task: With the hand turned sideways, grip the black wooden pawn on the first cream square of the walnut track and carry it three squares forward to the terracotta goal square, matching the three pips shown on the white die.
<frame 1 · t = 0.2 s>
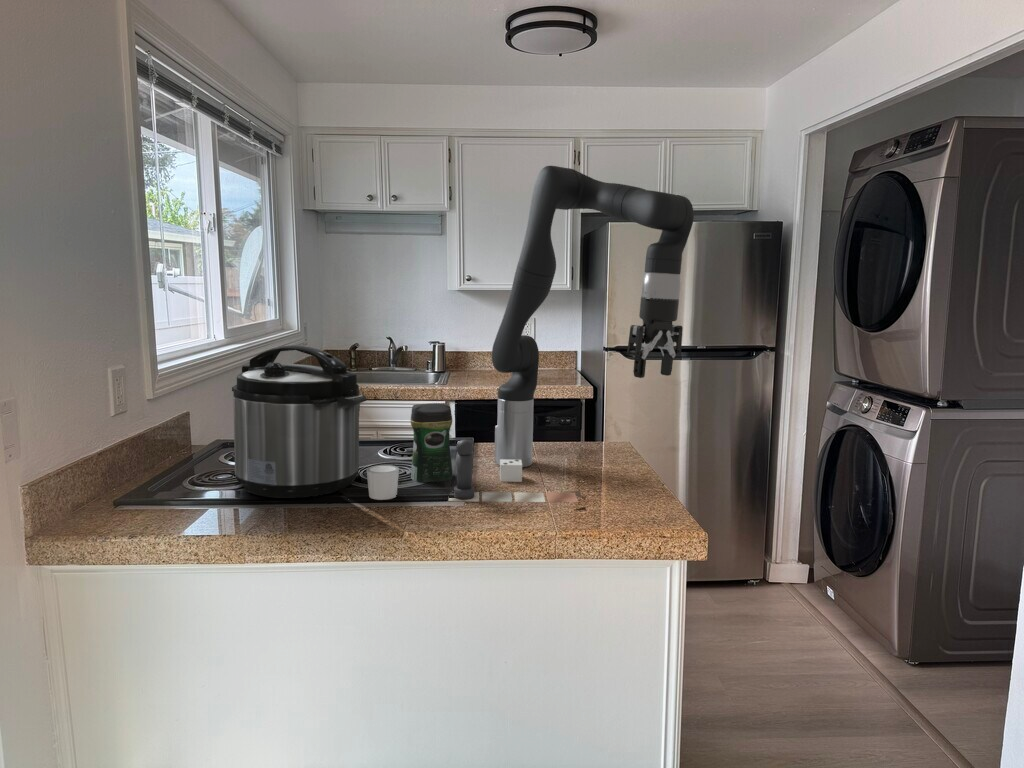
hand: (652, 376, 141), 28 cm above the worktop, tool pointing down, fingers open, 8 cm apart
track board: (513, 501, 148), on the worktop
pressure cooker: (301, 483, 159), on the worktop
coffee jar: (431, 482, 162), on the worktop
die: (510, 482, 162), on the worktop
white cup: (383, 501, 148), on the worktop
pawn: (464, 496, 148), point 1 cm above the worktop, touching track board
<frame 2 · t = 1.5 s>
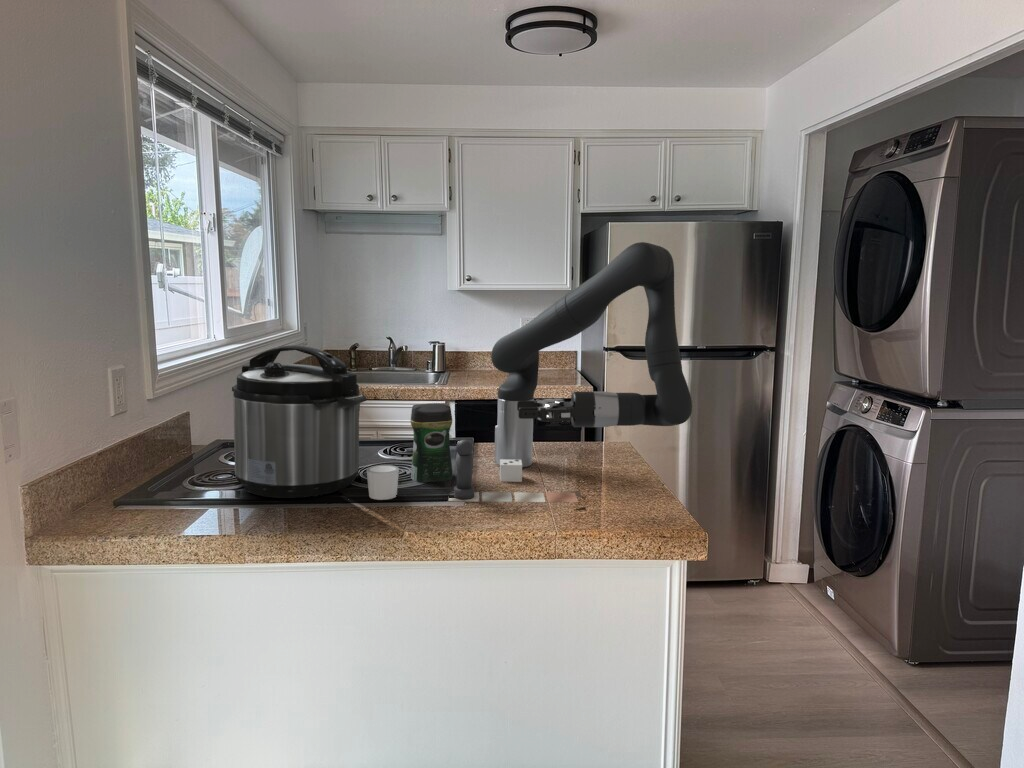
hand: (517, 409, 145), 20 cm above the worktop, tool horizontal, fingers open, 8 cm apart
nothing on the worktop moved.
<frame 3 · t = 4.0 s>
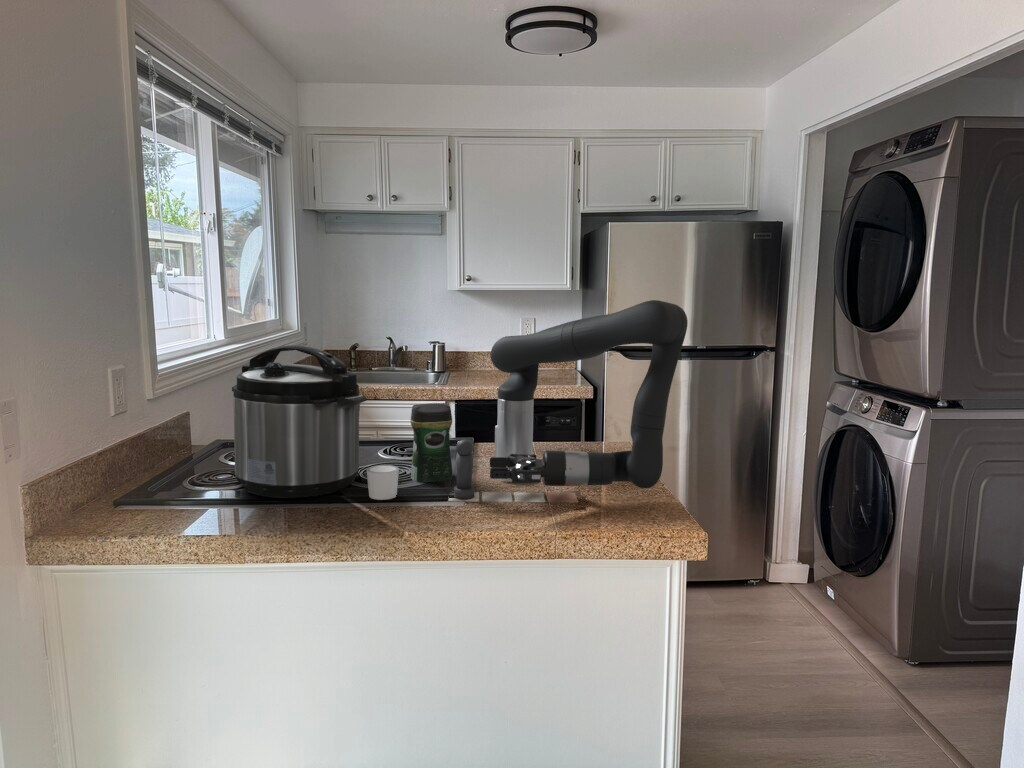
hand: (489, 467, 147), 8 cm above the worktop, tool horizontal, fingers open, 8 cm apart
nothing on the worktop moved.
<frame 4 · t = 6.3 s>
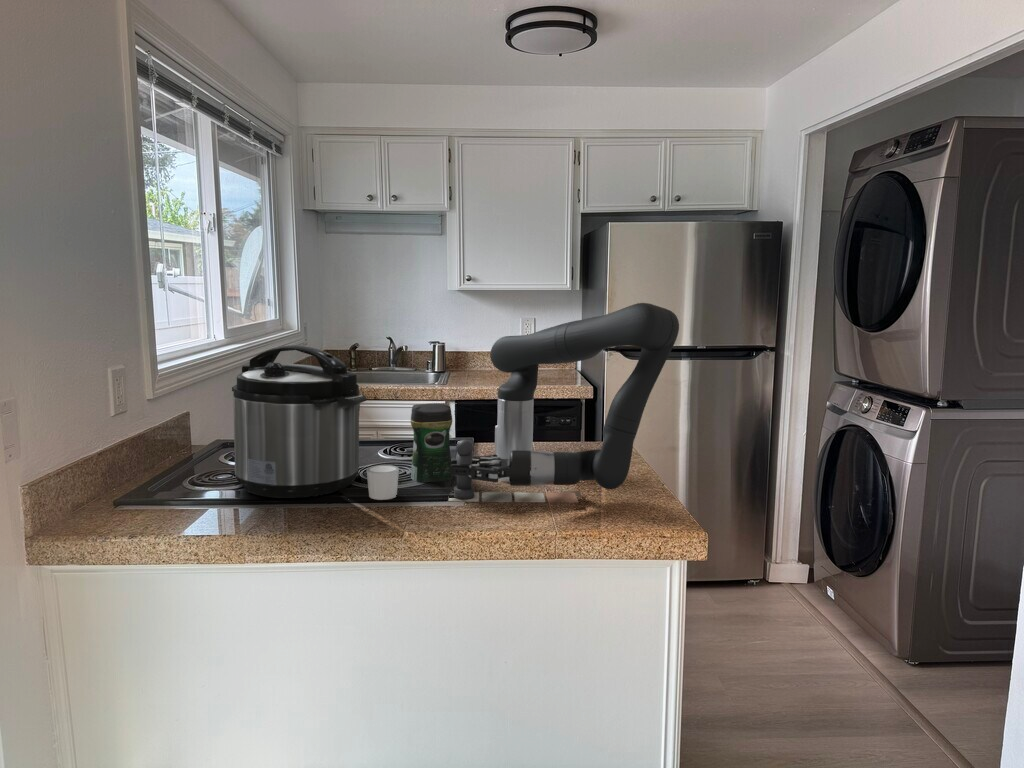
hand: (451, 467, 147), 7 cm above the worktop, tool horizontal, fingers closed on pawn, 3 cm apart
pawn: (464, 496, 148), point 1 cm above the worktop, touching gripper, track board
everything else where it was.
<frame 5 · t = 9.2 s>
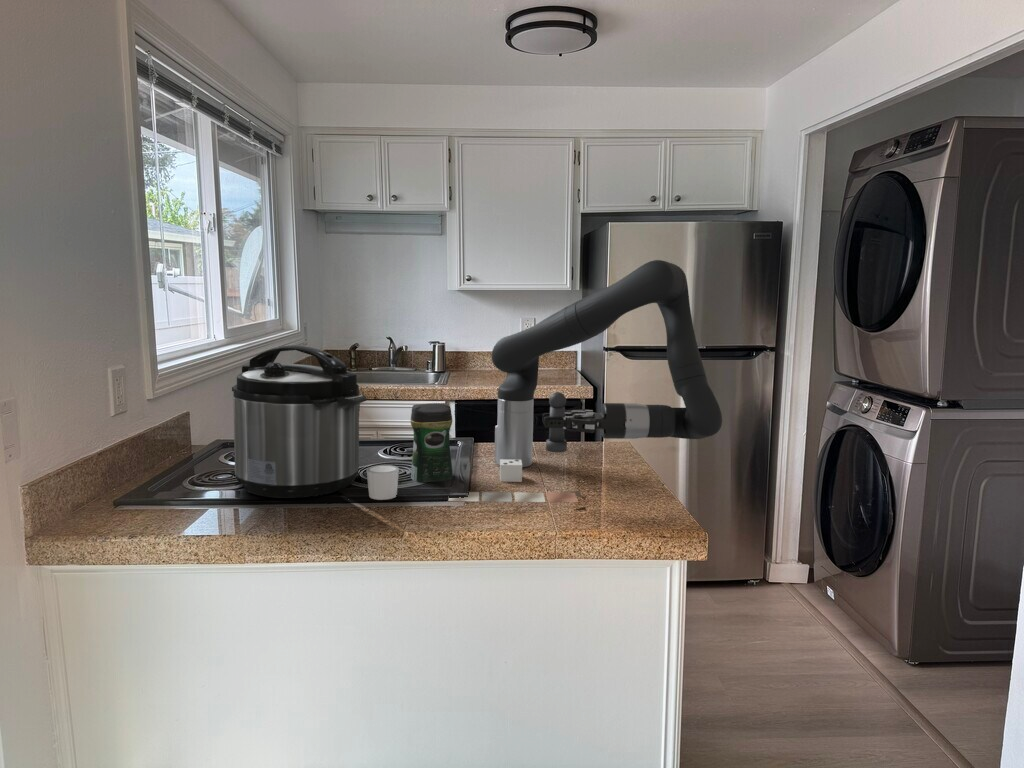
hand: (543, 420, 146), 18 cm above the worktop, tool horizontal, fingers closed on pawn, 3 cm apart
pawn: (556, 449, 147), point 12 cm above the worktop, touching gripper
everything else where it was.
when the fingers open (9 cm above the worktop, at t = 12.3 s): pawn drops 1 cm, resting on track board.
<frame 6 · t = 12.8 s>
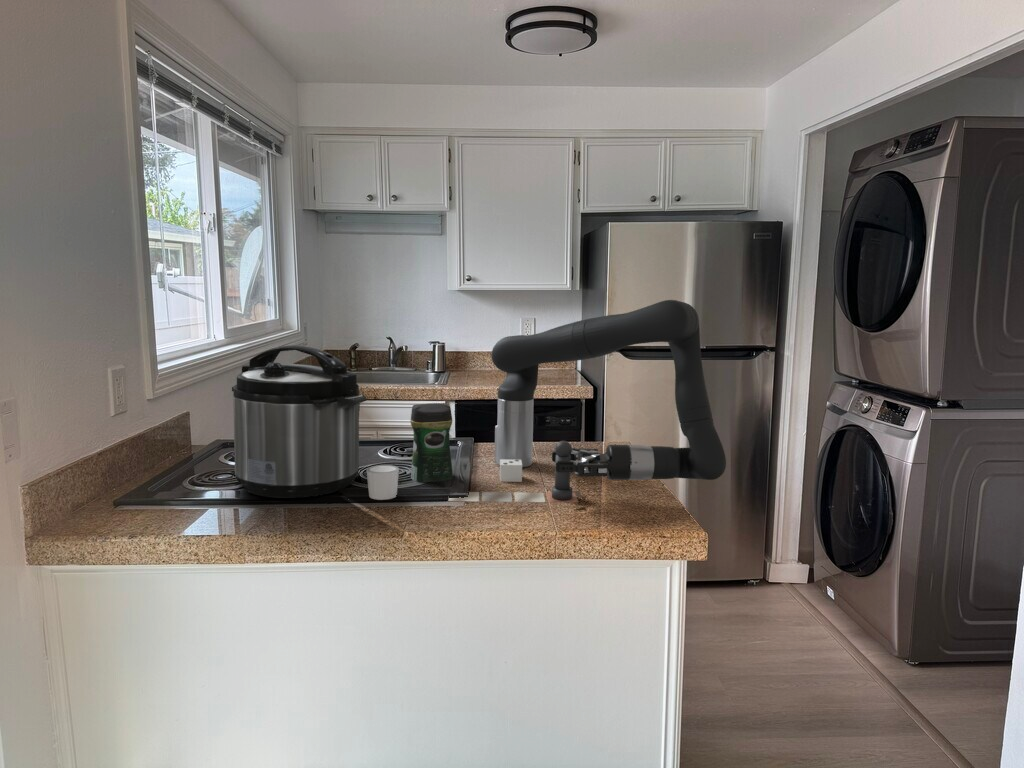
hand: (553, 461, 147), 9 cm above the worktop, tool horizontal, fingers open, 8 cm apart
pawn: (561, 497, 149), point 1 cm above the worktop, touching track board
everything else where it was.
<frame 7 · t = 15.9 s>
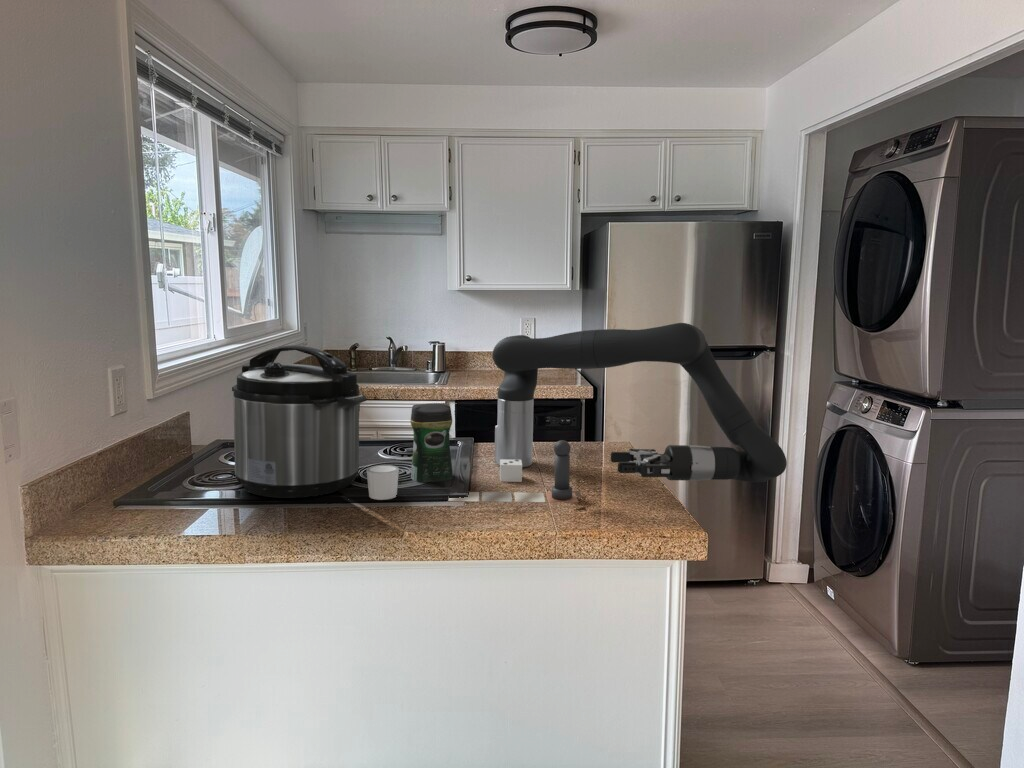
hand: (614, 462, 148), 9 cm above the worktop, tool horizontal, fingers open, 8 cm apart
nothing on the worktop moved.
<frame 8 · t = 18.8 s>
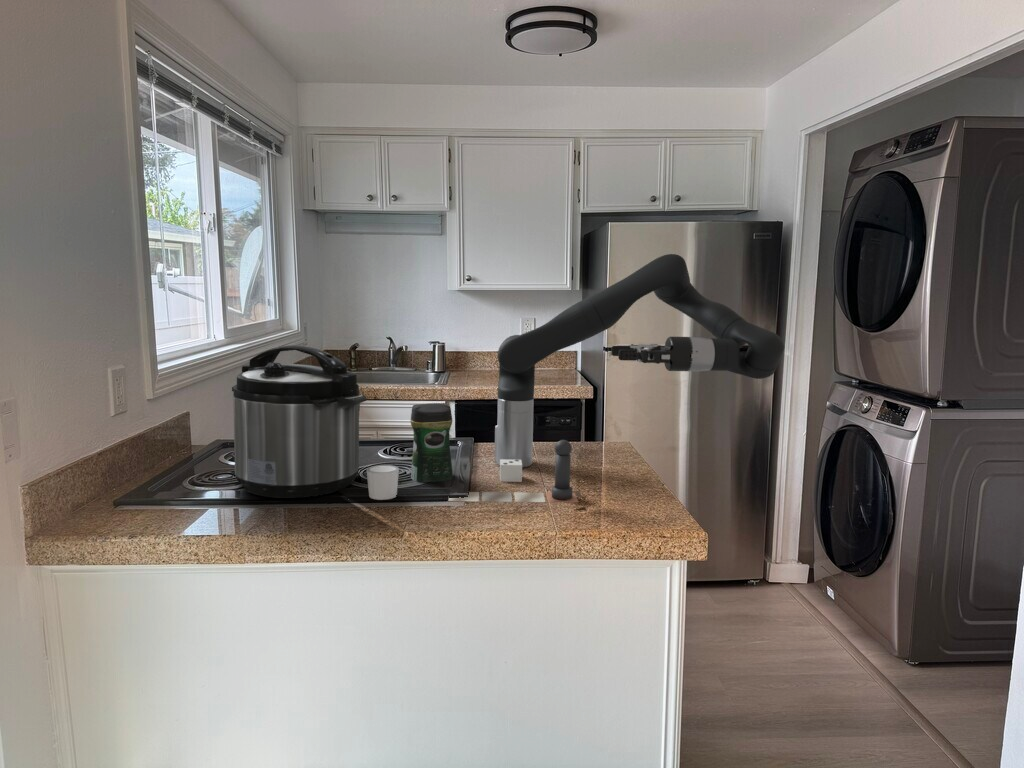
hand: (615, 352, 150), 32 cm above the worktop, tool horizontal, fingers open, 8 cm apart
nothing on the worktop moved.
at the end: pawn 0.0 cm from the target spot, point 1.2 cm above the worktop; pawn tilted 3°; the gripper is holding nothing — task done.
